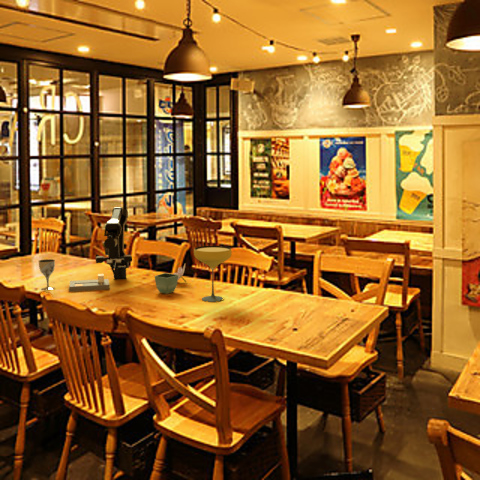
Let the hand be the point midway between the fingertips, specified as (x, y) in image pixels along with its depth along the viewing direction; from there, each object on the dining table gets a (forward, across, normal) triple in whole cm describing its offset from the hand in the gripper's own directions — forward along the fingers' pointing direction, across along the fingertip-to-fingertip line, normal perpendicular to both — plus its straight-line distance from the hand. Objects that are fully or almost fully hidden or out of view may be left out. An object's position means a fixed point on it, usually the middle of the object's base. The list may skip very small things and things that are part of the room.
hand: (114, 274), depth 299 cm
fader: (+5, +7, 0) cm, 8 cm away
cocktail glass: (+6, -45, +40) cm, 61 cm away
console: (+6, +13, 0) cm, 14 cm away
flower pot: (+6, -25, +21) cm, 33 cm away
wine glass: (+6, +34, -2) cm, 35 cm away
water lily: (+6, -34, 0) cm, 35 cm away
